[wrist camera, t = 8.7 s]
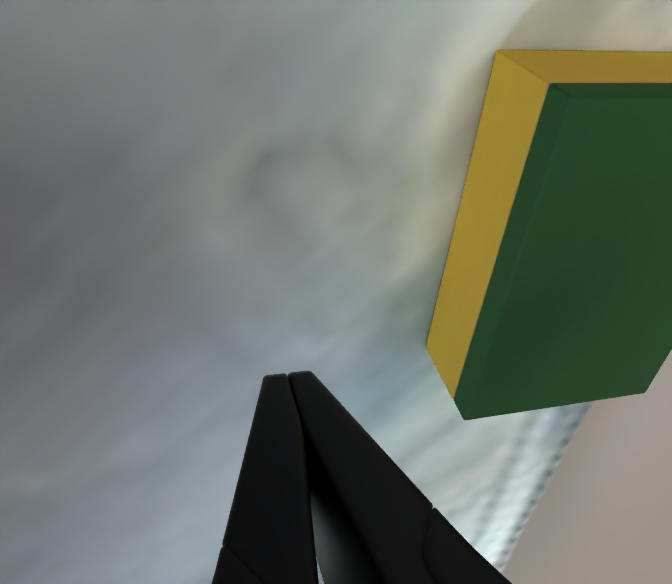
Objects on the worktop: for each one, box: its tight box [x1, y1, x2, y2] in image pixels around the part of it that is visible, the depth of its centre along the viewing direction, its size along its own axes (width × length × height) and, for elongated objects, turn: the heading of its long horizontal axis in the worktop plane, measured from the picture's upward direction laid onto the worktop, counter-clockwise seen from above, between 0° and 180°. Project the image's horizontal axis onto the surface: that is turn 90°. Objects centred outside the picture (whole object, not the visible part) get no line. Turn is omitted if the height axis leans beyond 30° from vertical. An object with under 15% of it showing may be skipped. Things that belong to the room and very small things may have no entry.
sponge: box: [426, 50, 672, 420], centre depth 15 cm, size 9×6×3 cm, turn 176°
